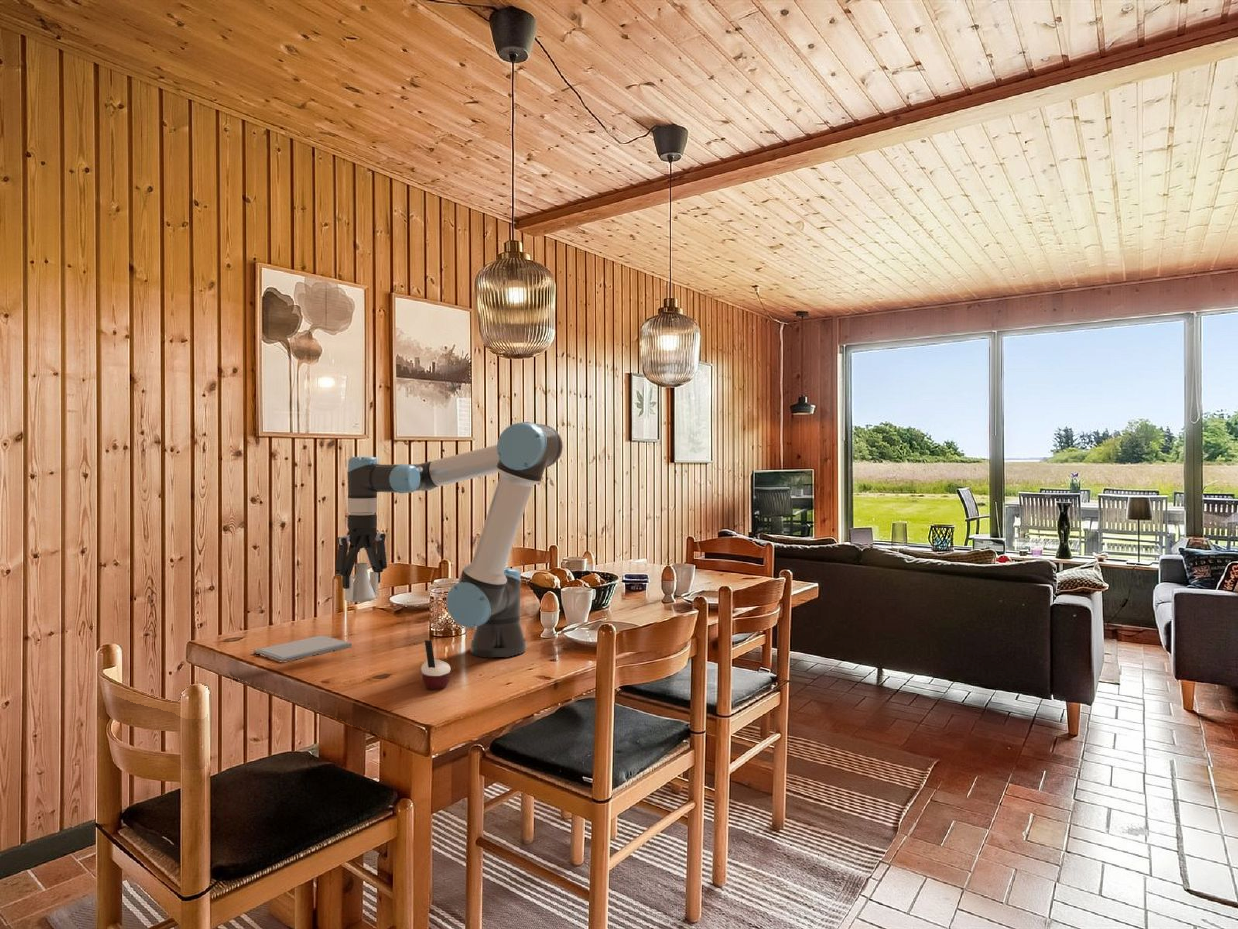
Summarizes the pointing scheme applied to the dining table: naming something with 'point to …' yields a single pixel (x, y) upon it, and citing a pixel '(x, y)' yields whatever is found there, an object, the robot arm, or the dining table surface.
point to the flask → (362, 585)
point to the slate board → (303, 648)
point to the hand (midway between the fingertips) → (361, 598)
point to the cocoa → (434, 670)
